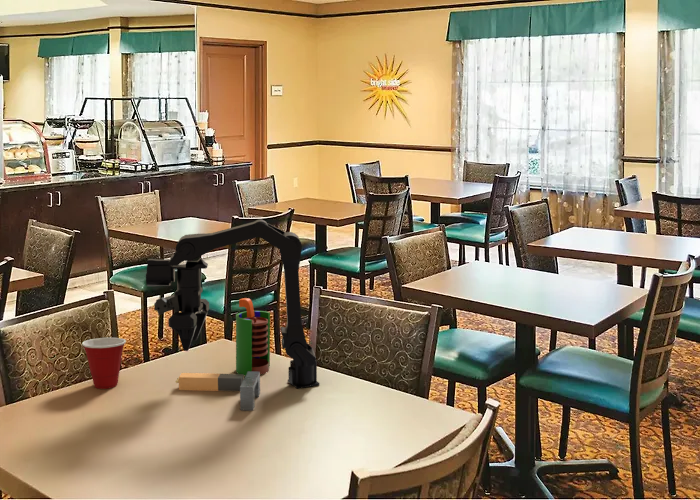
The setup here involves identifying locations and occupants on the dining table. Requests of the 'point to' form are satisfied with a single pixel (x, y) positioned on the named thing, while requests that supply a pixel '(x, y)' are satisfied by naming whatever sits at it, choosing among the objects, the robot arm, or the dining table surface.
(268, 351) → the green tall cylinder
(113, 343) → the plastic cup
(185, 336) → the robot arm
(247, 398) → the housing
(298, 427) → the dining table surface
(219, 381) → the plug
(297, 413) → the dining table surface
